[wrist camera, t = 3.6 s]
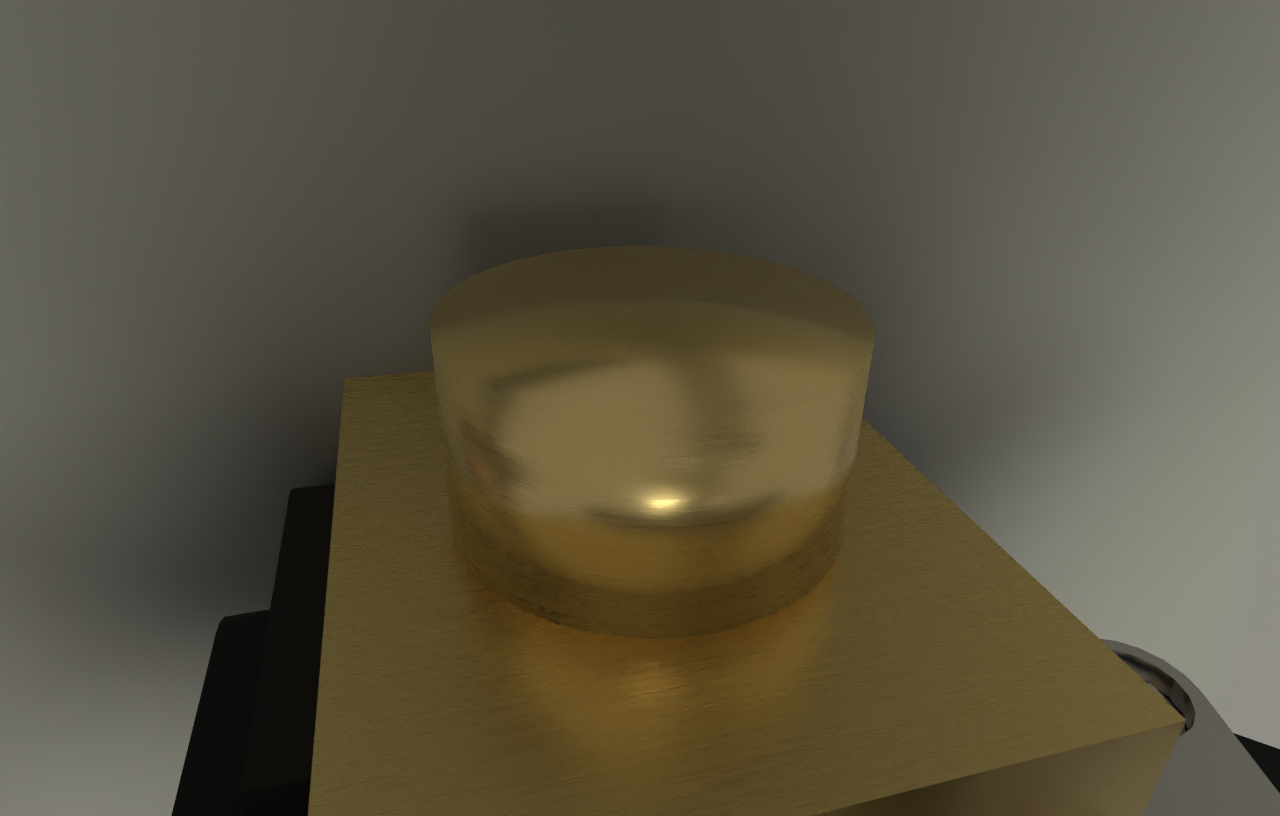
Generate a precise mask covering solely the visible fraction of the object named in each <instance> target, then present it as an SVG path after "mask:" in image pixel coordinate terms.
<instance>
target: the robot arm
mask: <svg viewBox="0 0 1280 816" xmlns="http://www.w3.org/2000/svg"><path fill="white" fill-rule="evenodd" d="M335 484H336V483H334V484H326V485H318V486H310V487H302V488H294V489H291V491H290V495H289V501H288V507H287V513H286V519H285V524H284V530H283V536H282V542H281V548H280V554H279V560H278V566H277V572H276V578H275V584H274V590H273V596H272V602H271V608H270V610H264V611H258V612H251V613H245V614H239V615H232V616H226V617H224V618H223V619H222V620H221V621H220V623H219V626H218V629H217V632H216V635H215V639H214V644H213V648H212V652H211V656H210V660H209V664H208V668H207V672H206V676H205V681H204V685H203V689H202V693H201V697H200V701H199V705H198V709H197V713H196V717H195V722H194V726H193V730H192V734H191V738H190V742H189V746H188V750H187V754H186V758H185V763H184V767H183V771H182V775H181V779H180V783H179V787H178V791H177V795H176V799H175V804H174V808H173V812H172V816H308V808H309V796H310V784H311V772H312V760H313V748H314V736H315V724H316V712H317V700H318V688H319V676H320V664H321V652H322V640H323V628H324V616H325V604H326V592H327V580H328V568H329V556H330V544H331V532H332V520H333V508H334V496H335ZM1100 640H1101V641H1102V642H1103V643H1104V644H1105V645H1106V646H1108V647H1109V648H1110V649H1111V650H1112V651H1113V652H1114V653H1115V654H1116V655H1117V656H1118V657H1119V658H1120V659H1121V660H1123V661H1124V662H1125V663H1126V664H1127V665H1128V666H1129V667H1130V668H1131V669H1132V670H1133V671H1134V672H1135V673H1136V674H1138V675H1139V676H1140V677H1141V678H1142V679H1143V680H1144V681H1145V682H1146V683H1147V684H1148V685H1149V686H1150V687H1151V688H1153V689H1154V690H1155V691H1156V692H1157V693H1158V694H1159V695H1160V696H1161V697H1162V698H1163V699H1164V700H1165V701H1166V702H1168V703H1169V704H1170V705H1171V706H1172V707H1173V708H1174V709H1175V710H1176V711H1177V712H1178V713H1179V714H1180V715H1181V716H1183V717H1184V718H1185V719H1186V722H1185V725H1184V727H1183V729H1182V731H1181V733H1180V735H1179V737H1178V740H1177V742H1176V744H1175V746H1174V748H1173V750H1172V752H1171V755H1170V757H1169V759H1168V761H1167V763H1166V765H1165V767H1164V770H1163V772H1162V774H1161V776H1160V778H1159V780H1158V782H1157V785H1156V787H1155V789H1154V791H1153V793H1152V795H1151V797H1150V800H1149V802H1148V804H1147V806H1146V808H1145V810H1144V812H1143V815H1142V816H1280V749H1277V748H1274V747H1272V746H1269V745H1266V744H1263V743H1260V742H1257V741H1254V740H1252V739H1249V738H1246V737H1243V736H1240V735H1237V734H1234V733H1233V732H1232V731H1231V730H1230V728H1229V727H1228V726H1227V724H1226V723H1225V722H1224V720H1223V719H1222V718H1221V717H1220V715H1219V714H1218V713H1217V711H1216V710H1215V709H1214V707H1213V706H1212V705H1211V704H1210V702H1209V701H1208V700H1207V698H1206V697H1205V696H1204V694H1203V693H1202V692H1201V691H1200V690H1199V689H1198V688H1197V687H1196V686H1195V685H1194V684H1193V683H1192V682H1191V681H1190V680H1189V679H1188V678H1187V677H1186V675H1184V674H1183V673H1181V672H1180V671H1179V670H1177V669H1176V668H1174V667H1173V666H1171V665H1170V664H1169V663H1167V662H1166V661H1164V660H1163V659H1161V658H1159V657H1156V656H1154V655H1152V654H1150V653H1148V652H1146V651H1144V650H1142V649H1140V648H1137V647H1134V646H1131V645H1127V644H1124V643H1121V642H1118V641H1113V640H1105V639H1100Z"/></svg>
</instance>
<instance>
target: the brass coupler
mask: <svg viewBox="0 0 1280 816" xmlns="http://www.w3.org/2000/svg"><path fill="white" fill-rule="evenodd" d="M430 337H431V346H432V356H433V365H434V370H431V371H421V372H411V373H400V374H390V375H379V376H369V377H358V378H348V379H344V388H343V400H342V412H341V424H340V436H339V448H338V460H337V472H336V484H335V496H334V508H333V520H332V532H331V544H330V556H329V568H328V580H327V592H326V604H325V616H324V628H323V640H322V652H321V664H320V676H319V688H318V700H317V712H316V724H315V736H314V748H313V760H312V772H311V784H310V796H309V808H308V816H1142V815H1143V812H1144V810H1145V808H1146V806H1147V804H1148V802H1149V800H1150V797H1151V795H1152V793H1153V791H1154V789H1155V787H1156V785H1157V782H1158V780H1159V778H1160V776H1161V774H1162V772H1163V770H1164V767H1165V765H1166V763H1167V761H1168V759H1169V757H1170V755H1171V752H1172V750H1173V748H1174V746H1175V744H1176V742H1177V740H1178V737H1179V735H1180V733H1181V731H1182V729H1183V727H1184V725H1185V722H1186V719H1185V718H1184V717H1183V716H1181V715H1180V714H1179V713H1178V712H1177V711H1176V710H1175V709H1174V708H1173V707H1172V706H1171V705H1170V704H1169V703H1168V702H1166V701H1165V700H1164V699H1163V698H1162V697H1161V696H1160V695H1159V694H1158V693H1157V692H1156V691H1155V690H1154V689H1153V688H1151V687H1150V686H1149V685H1148V684H1147V683H1146V682H1145V681H1144V680H1143V679H1142V678H1141V677H1140V676H1139V675H1138V674H1136V673H1135V672H1134V671H1133V670H1132V669H1131V668H1130V667H1129V666H1128V665H1127V664H1126V663H1125V662H1124V661H1123V660H1121V659H1120V658H1119V657H1118V656H1117V655H1116V654H1115V653H1114V652H1113V651H1112V650H1111V649H1110V648H1109V647H1108V646H1106V645H1105V644H1104V643H1103V642H1102V641H1101V640H1100V639H1099V638H1098V637H1097V636H1096V635H1095V634H1094V633H1093V632H1091V631H1090V630H1089V629H1088V628H1087V627H1086V626H1085V625H1084V624H1083V623H1082V622H1081V621H1080V620H1079V619H1078V618H1076V617H1075V616H1074V615H1073V614H1072V613H1071V612H1070V611H1069V610H1068V609H1067V608H1066V607H1065V606H1064V605H1063V604H1061V603H1060V602H1059V601H1058V600H1057V599H1056V598H1055V597H1054V596H1053V595H1052V594H1051V593H1050V592H1049V591H1048V590H1046V589H1045V588H1044V587H1043V586H1042V585H1041V584H1040V583H1039V582H1038V581H1037V580H1036V579H1035V578H1034V577H1033V576H1031V575H1030V574H1029V573H1028V572H1027V571H1026V570H1025V569H1024V568H1023V567H1022V566H1021V565H1020V564H1019V563H1018V562H1016V561H1015V560H1014V559H1013V558H1012V557H1011V556H1010V555H1009V554H1008V553H1007V552H1006V551H1005V550H1004V549H1003V548H1001V547H1000V546H999V545H998V544H997V543H996V542H995V541H994V540H993V539H992V538H991V537H990V536H989V535H988V534H986V533H985V532H984V531H983V530H982V529H981V528H980V527H979V526H978V525H977V524H976V523H975V522H974V521H973V520H971V519H970V518H969V517H968V516H967V515H966V514H965V513H964V512H963V511H962V510H961V509H960V508H959V507H958V506H956V505H955V504H954V503H953V502H952V501H951V500H950V499H949V498H948V497H947V496H946V495H945V494H944V493H943V492H941V491H940V490H939V489H938V488H937V487H936V486H935V485H934V484H933V483H932V482H931V481H930V480H929V479H927V478H926V477H925V476H924V475H923V474H922V473H921V472H920V471H919V470H918V469H917V468H916V467H915V466H914V465H912V464H911V463H910V462H909V461H908V460H907V459H906V458H905V457H904V456H903V455H902V454H901V453H900V452H899V451H897V450H896V449H895V448H894V447H893V446H892V445H891V444H890V443H889V442H888V441H887V440H886V439H885V438H884V437H882V436H881V435H880V434H879V433H878V432H877V431H876V430H875V429H874V428H873V427H872V426H871V425H870V424H869V423H867V422H866V421H865V420H864V419H863V418H862V415H863V409H864V403H865V397H866V391H867V385H868V379H869V373H870V367H871V361H872V355H873V349H874V343H875V337H876V332H875V327H874V323H873V321H872V319H871V317H870V315H869V313H868V312H867V311H866V310H865V308H864V307H863V306H862V305H861V304H860V303H859V302H858V301H857V300H856V299H854V298H853V297H852V296H851V295H849V294H848V293H846V292H845V291H843V290H842V289H840V288H838V287H837V286H835V285H833V284H831V283H829V282H827V281H825V280H823V279H821V278H819V277H816V276H814V275H811V274H809V273H806V272H804V271H801V270H798V269H795V268H792V267H789V266H785V265H782V264H779V263H775V262H771V261H767V260H763V259H759V258H754V257H749V256H744V255H739V254H733V253H727V252H720V251H713V250H704V249H695V248H682V247H666V246H612V247H596V248H584V249H575V250H567V251H559V252H553V253H547V254H542V255H536V256H532V257H527V258H523V259H519V260H515V261H512V262H508V263H505V264H501V265H498V266H495V267H493V268H490V269H487V270H485V271H482V272H480V273H478V274H476V275H474V276H472V277H469V278H467V279H465V280H464V281H462V282H461V283H459V284H457V285H456V286H454V287H453V288H451V289H450V290H449V291H448V292H447V293H446V294H444V295H443V296H442V297H441V298H440V300H439V301H438V302H437V304H436V305H435V306H434V308H433V311H432V313H431V316H430Z"/></svg>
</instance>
